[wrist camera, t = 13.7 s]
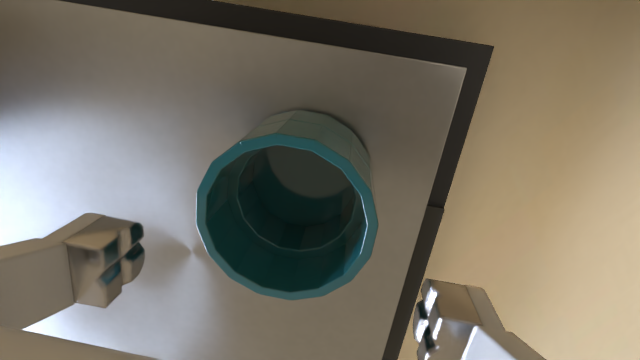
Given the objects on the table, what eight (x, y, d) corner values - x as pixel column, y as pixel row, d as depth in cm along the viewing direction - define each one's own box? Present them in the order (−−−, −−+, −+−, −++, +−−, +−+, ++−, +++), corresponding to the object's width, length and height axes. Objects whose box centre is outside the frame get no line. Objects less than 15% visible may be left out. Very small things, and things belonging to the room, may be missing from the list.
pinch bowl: (385, 122, 16) (396, 154, 11) (357, 245, 18) (357, 314, 13) (244, 98, 16) (197, 118, 11) (235, 222, 18) (193, 282, 14)
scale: (475, 46, 17) (500, 45, 14) (370, 402, 26) (372, 447, 23) (-11, -33, 18) (-84, -49, 15) (50, 335, 27) (12, 371, 24)
